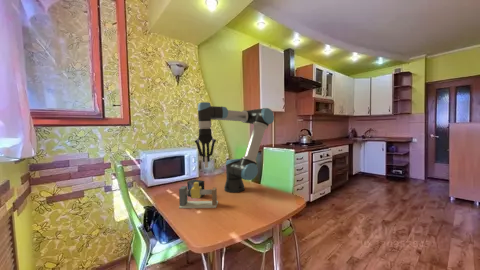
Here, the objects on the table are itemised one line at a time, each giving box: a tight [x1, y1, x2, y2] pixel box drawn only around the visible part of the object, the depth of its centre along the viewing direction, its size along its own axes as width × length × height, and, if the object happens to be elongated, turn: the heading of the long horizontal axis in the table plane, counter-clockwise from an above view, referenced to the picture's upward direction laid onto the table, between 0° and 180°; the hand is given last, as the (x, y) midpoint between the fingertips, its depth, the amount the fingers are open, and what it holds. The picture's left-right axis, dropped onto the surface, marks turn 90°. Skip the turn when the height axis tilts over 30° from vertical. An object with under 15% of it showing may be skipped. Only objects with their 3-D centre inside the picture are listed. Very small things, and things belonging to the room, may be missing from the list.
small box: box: [186, 179, 205, 199], centre depth 141 cm, size 11×6×10 cm, turn 62°
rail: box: [178, 185, 219, 209], centre depth 124 cm, size 22×9×11 cm, turn 88°
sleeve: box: [191, 182, 202, 199], centre depth 123 cm, size 5×5×9 cm
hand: (206, 167), depth 123 cm, fingers closed
